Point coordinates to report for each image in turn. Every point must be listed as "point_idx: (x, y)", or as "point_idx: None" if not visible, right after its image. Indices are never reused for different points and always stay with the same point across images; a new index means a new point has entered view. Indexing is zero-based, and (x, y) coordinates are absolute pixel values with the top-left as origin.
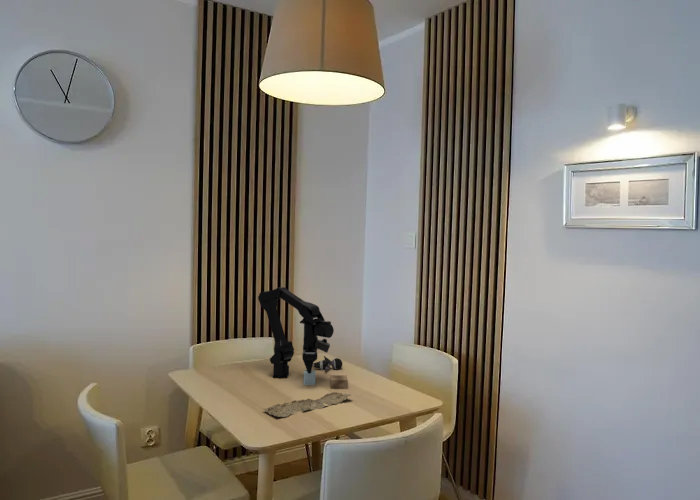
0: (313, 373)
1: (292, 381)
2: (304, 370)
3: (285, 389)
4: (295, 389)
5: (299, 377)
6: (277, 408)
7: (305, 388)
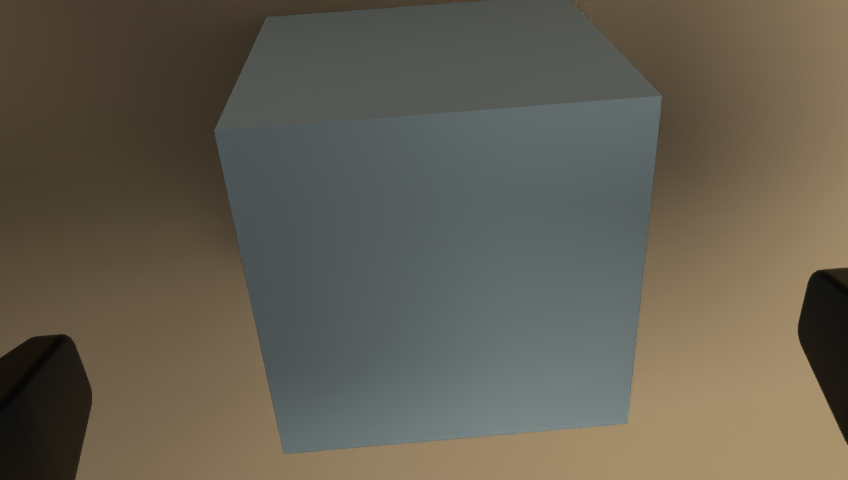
0: (654, 164)
1: None
2: (316, 438)
3: (801, 474)
4: None
5: None
6: None
7: (813, 188)
